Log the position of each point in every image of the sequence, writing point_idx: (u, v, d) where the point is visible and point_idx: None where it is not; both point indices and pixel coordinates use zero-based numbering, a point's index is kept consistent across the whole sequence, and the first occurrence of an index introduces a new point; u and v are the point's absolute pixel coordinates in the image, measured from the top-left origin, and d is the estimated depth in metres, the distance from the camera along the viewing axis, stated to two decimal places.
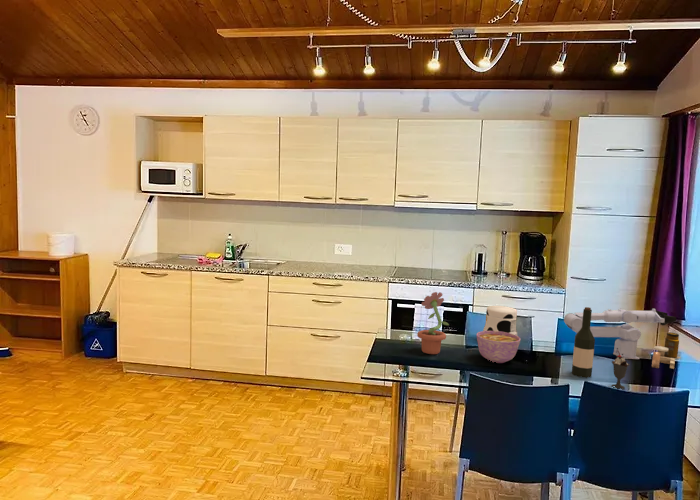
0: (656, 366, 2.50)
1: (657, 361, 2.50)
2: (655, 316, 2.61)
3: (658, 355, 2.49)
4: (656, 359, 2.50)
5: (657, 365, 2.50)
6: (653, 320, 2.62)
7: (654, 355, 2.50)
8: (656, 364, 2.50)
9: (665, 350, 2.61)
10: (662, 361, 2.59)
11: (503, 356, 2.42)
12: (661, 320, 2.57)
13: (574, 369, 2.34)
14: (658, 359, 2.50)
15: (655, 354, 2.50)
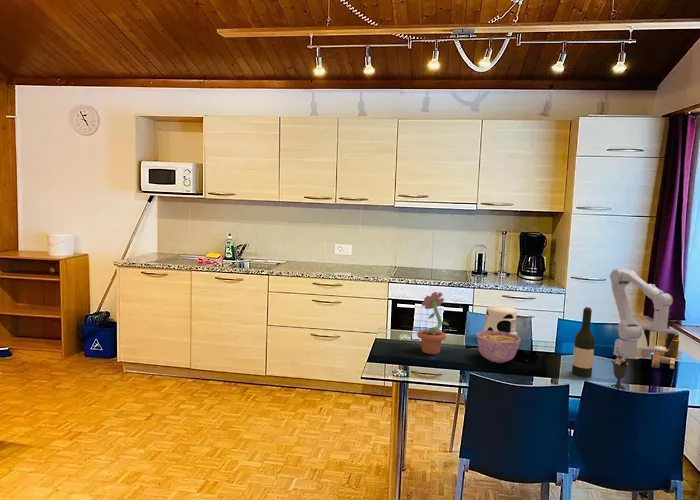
0: (656, 366, 2.50)
1: (657, 361, 2.50)
2: (652, 327, 2.50)
3: (658, 355, 2.49)
4: (656, 359, 2.50)
5: (657, 365, 2.50)
6: None
7: (654, 355, 2.50)
8: (656, 364, 2.50)
9: (665, 350, 2.61)
10: (662, 361, 2.59)
11: (503, 356, 2.42)
12: (642, 326, 2.53)
13: (574, 369, 2.34)
14: (658, 359, 2.50)
15: (655, 354, 2.50)
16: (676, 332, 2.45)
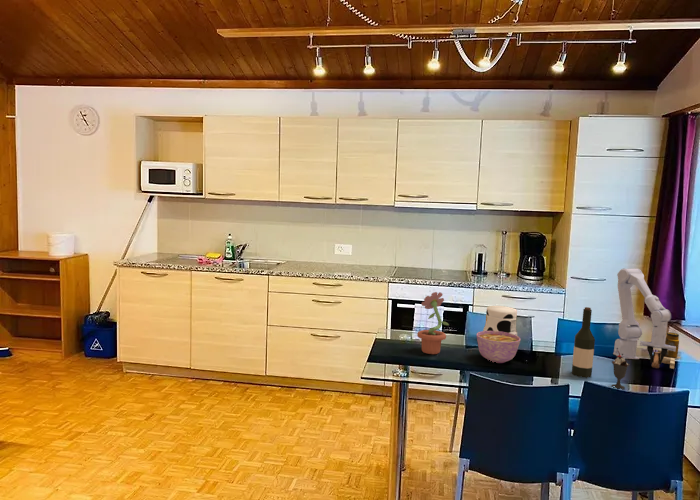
0: (656, 366, 2.50)
1: (657, 361, 2.50)
2: (651, 343, 2.51)
3: (658, 355, 2.49)
4: (656, 359, 2.50)
5: (657, 365, 2.50)
6: None
7: (654, 355, 2.50)
8: (656, 364, 2.50)
9: None
10: (662, 361, 2.59)
11: (503, 356, 2.42)
12: (640, 342, 2.54)
13: (574, 369, 2.34)
14: (658, 359, 2.50)
15: (655, 354, 2.50)
16: (674, 348, 2.46)
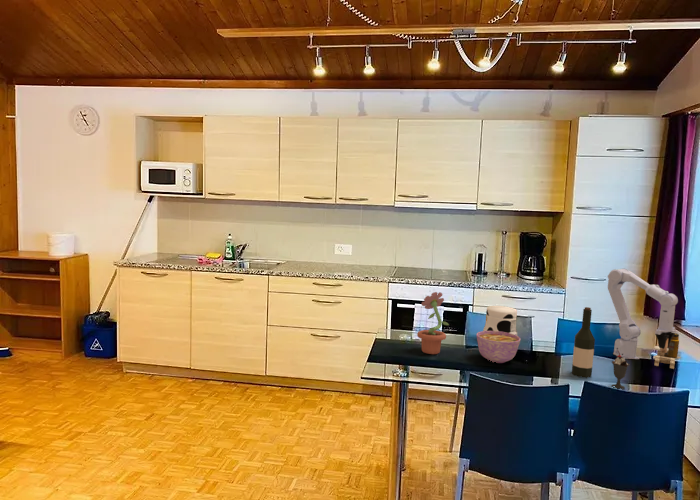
0: (666, 350, 2.52)
1: (667, 345, 2.52)
2: (664, 329, 2.50)
3: None
4: (667, 343, 2.51)
5: None
6: (660, 327, 2.51)
7: (666, 341, 2.51)
8: None
9: None
10: (662, 361, 2.59)
11: (503, 356, 2.42)
12: (657, 331, 2.48)
13: (574, 369, 2.34)
14: None
15: (667, 339, 2.51)
16: (674, 328, 2.55)
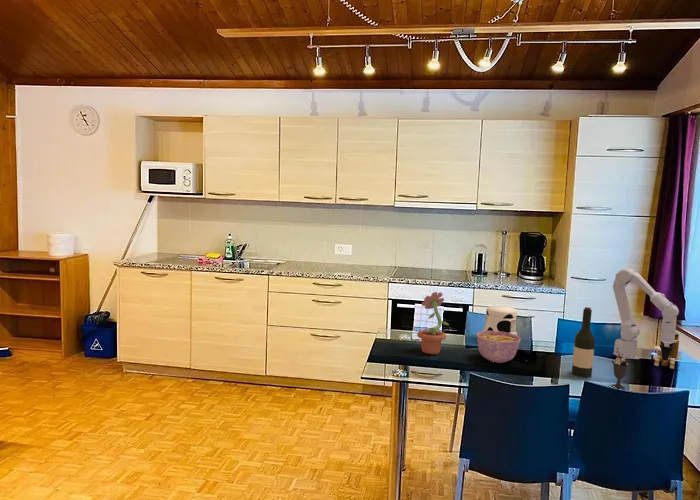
0: None
1: None
2: (669, 340, 2.51)
3: None
4: None
5: None
6: (664, 338, 2.52)
7: None
8: None
9: None
10: None
11: (503, 356, 2.42)
12: (667, 343, 2.48)
13: (574, 369, 2.34)
14: None
15: None
16: None
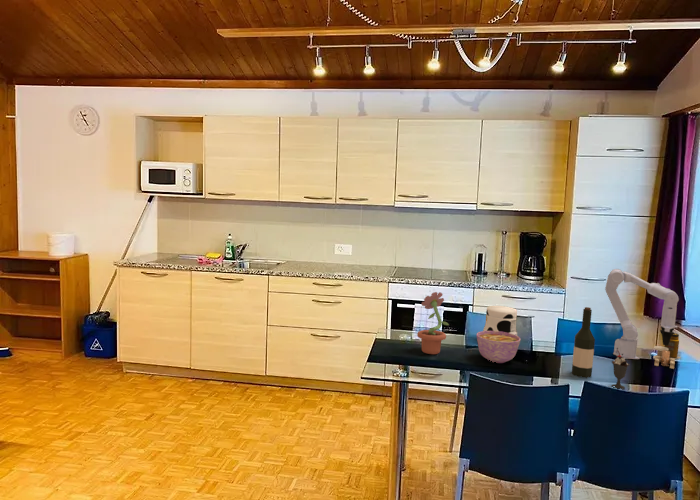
0: None
1: None
2: (669, 326, 2.55)
3: None
4: None
5: None
6: (664, 323, 2.56)
7: (668, 354, 2.53)
8: None
9: None
10: None
11: (503, 356, 2.42)
12: (667, 328, 2.52)
13: (574, 369, 2.34)
14: None
15: (669, 353, 2.53)
16: None
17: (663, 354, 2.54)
